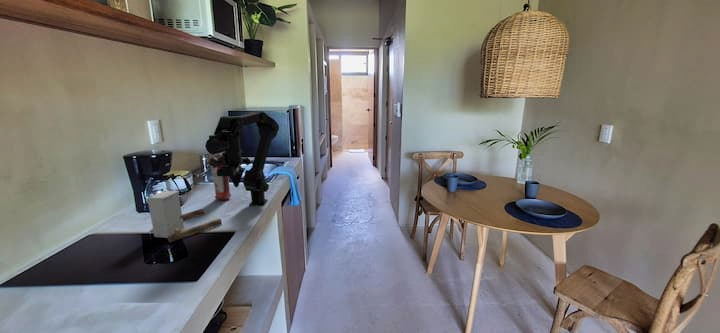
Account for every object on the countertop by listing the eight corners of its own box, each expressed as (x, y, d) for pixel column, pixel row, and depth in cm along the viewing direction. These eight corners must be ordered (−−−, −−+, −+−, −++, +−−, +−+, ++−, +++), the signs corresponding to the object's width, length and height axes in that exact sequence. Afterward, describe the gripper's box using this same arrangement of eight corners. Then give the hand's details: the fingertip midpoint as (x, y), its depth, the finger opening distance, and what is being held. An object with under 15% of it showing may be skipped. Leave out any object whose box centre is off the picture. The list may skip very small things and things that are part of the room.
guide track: (202, 212, 128) (201, 205, 127) (222, 224, 117) (220, 216, 116) (153, 227, 114) (151, 219, 113) (170, 242, 104) (168, 233, 103)
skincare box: (169, 238, 107) (162, 198, 103) (153, 237, 107) (145, 197, 103) (185, 227, 115) (179, 190, 111) (170, 226, 115) (163, 189, 111)
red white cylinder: (211, 200, 141) (203, 140, 133) (223, 195, 147) (216, 137, 140) (223, 202, 138) (215, 141, 131) (235, 197, 145) (228, 139, 137)
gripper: (222, 144, 128) (226, 179, 132) (199, 154, 110) (205, 195, 114) (248, 144, 128) (252, 179, 132) (230, 154, 110) (235, 195, 114)
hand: (236, 186), depth 123 cm, fingers closed
